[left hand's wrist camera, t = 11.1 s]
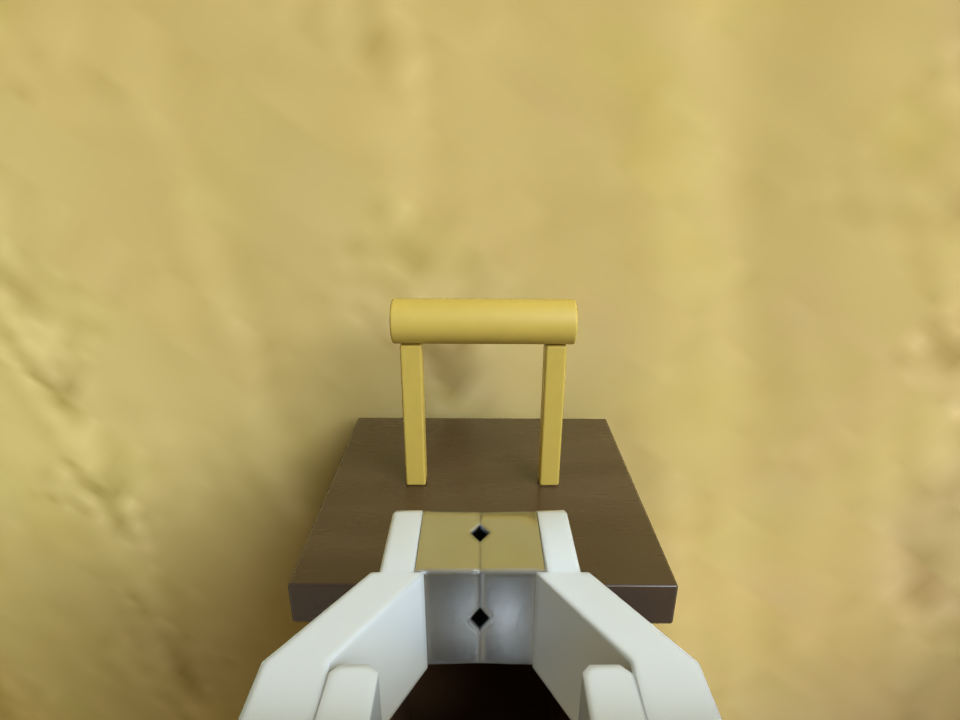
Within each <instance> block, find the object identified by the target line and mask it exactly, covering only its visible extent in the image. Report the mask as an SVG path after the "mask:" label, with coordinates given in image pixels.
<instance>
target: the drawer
mask: <svg viewBox="0 0 960 720" xmlns="http://www.w3.org/2000/svg"><path fill="white" fill-rule="evenodd" d="M577 327H578V313H577V305H576V302H575V300H573V299H402V298H394V299H393V300H392V302H391V307H390V334H391V339H392V342H393V343H401V346H400V359H401V380H402V402H403V418H359V419H358V421H357V423H356V426H355V428H354V430H353V433H352V435H351V437H350V440H349V442H348V444H347V447H346V449H345V452H344V454H343V456H342V459H341V461H340V463H339V466H338V468H337V470H336V473H335V475H334V477H333V480H332V482H331V485H330V487H329V489H328V492H327V494H326V496H325V499H324V501H323V503H322V506H321V508H320V510H319V513H318V515H317V517H316V520H315V522H314V525H313V527H312V529H311V532H310V534H309V536H308V539H307V541H306V543H305V546H304V548H303V550H302V553H301V555H300V557H299V560H298V562H297V565H296V567H295V569H294V572H293V574H292V576H291V579H290V581H289V583H288V589H289V596H290V603H291V610H292V617H293V621H295V622H311V621H312V620H314V619H315V618H316V617H317V616H318V615H320V614H321V613H322V612H323V611H325V610H326V609H327V608H328V607H329V606H331V605H332V604H333V603H334V602H335V601H337V600H338V599H339V598H340V597H342V596H343V595H344V594H345V593H346V592H348V591H349V590H350V589H351V588H352V587H354V586H355V585H356V584H357V583H359V582H360V581H361V580H362V579H363V578H365V577H366V576H367V575H368V574H369V573H371V572H379V571H380V567H381V563H382V558H383V554H384V550H385V545H386V541H387V537H388V532H389V528H390V524H391V519H392V515H393V514H394V512H395V511H396V510H422V511H423V512H424V511H425V510H426V511H473V512H536V511H549V510H564V511H565V512H566V513H567V516H568V520H569V524H570V528H571V533H572V537H573V541H574V546H575V550H576V554H577V559H578V563H579V567H580V571H581V572H589V573H591V574H592V575H593V576H594V577H595V578H597V579H598V580H599V581H600V582H601V583H603V584H604V585H605V586H606V587H607V588H609V589H610V590H611V591H612V592H614V593H615V594H616V595H617V596H618V597H620V598H621V599H622V600H623V601H624V602H626V603H627V604H628V605H629V606H630V607H632V608H633V609H634V610H635V611H637V612H638V613H639V614H640V615H641V616H643V617H644V618H645V619H646V620H647V621H649V622H650V623H672V621H673V615H674V609H675V602H676V596H677V589H678V585H677V583H676V581H675V578H674V576H673V574H672V571H671V569H670V567H669V564H668V562H667V560H666V558H665V555H664V553H663V551H662V548H661V546H660V544H659V541H658V539H657V537H656V534H655V532H654V530H653V528H652V525H651V523H650V521H649V518H648V516H647V514H646V511H645V509H644V507H643V504H642V502H641V500H640V498H639V495H638V493H637V491H636V488H635V486H634V484H633V481H632V479H631V477H630V474H629V472H628V470H627V467H626V465H625V463H624V461H623V458H622V456H621V454H620V451H619V449H618V447H617V444H616V442H615V440H614V437H613V435H612V433H611V431H610V428H609V426H608V424H607V421H606V420H605V419H563V404H564V387H565V371H566V354H567V347H566V345H565V344H574V343H575V341H576V336H577ZM423 344H544V353H543V375H542V397H541V419H465V418H425V395H424V363H423ZM532 666H533V665H532V664H497V663H462V664H428V668H427V669H426V671H425V672H424V673H423V675H422V676H421V677H420V679H419V680H418V682H417V683H416V684H415V686H414V687H413V688H412V690H411V691H410V693H409V694H408V695H407V697H406V698H405V699H404V701H403V702H402V704H401V705H400V706H399V708H398V709H397V710H396V712H395V713H394V714H393V716H392V717H391V719H390V720H570V718H569V717H568V715H567V714H566V713H565V711H564V710H563V709H562V707H561V706H560V704H559V703H558V702H557V700H556V699H555V697H554V696H553V695H552V693H551V692H550V691H549V689H548V688H547V686H546V685H545V684H544V682H543V681H542V680H541V678H540V677H539V675H538V674H537V673H536V671H535V670H534V668H533V667H532Z"/></svg>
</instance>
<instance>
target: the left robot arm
mask: <svg viewBox="0 0 960 720" xmlns="http://www.w3.org/2000/svg"><path fill="white" fill-rule="evenodd" d="M462 663H497V664H532V665H533V666H532V667H533V668H534V670H535V671H536V673H537V674H538V675H539V677H540V678H541V680H542V681H543V682H544V684H545V685H546V686H547V688H548V689H549V691H550V692H551V693H552V695H553V696H554V697H555V699H556V700H557V702H558V703H559V704H560V706H561V707H562V709H563V710H564V711H565V713H566V714H567V715H568V717H569V718H570V720H722V718H721V716H720V714H719V711H718V709H717V706H716V704H715V701H714V699H713V696H712V694H711V692H710V689H709V687H708V684H707V682H706V679H705V677H704V675H703V672H702V670H701V667H700V665H699V663H698V662H697V661H696V660H695V659H693V658H692V657H691V656H690V655H689V654H687V653H686V652H685V651H684V650H682V649H681V648H680V647H679V646H678V645H676V644H675V643H674V642H673V641H672V640H670V639H669V638H668V637H667V636H666V635H664V634H663V633H662V632H661V631H660V630H658V629H657V628H656V627H655V626H653V625H652V624H651V623H650V622H649V621H647V620H646V619H645V618H644V617H643V616H641V615H640V614H639V613H638V612H637V611H635V610H634V609H633V608H632V607H630V606H629V605H628V604H627V603H626V602H624V601H623V600H622V599H621V598H620V597H618V596H617V595H616V594H615V593H614V592H612V591H611V590H610V589H609V588H607V587H606V586H605V585H604V584H603V583H601V582H600V581H599V580H598V579H597V578H595V577H594V576H593V575H592V574H591V573H589V572H581V571H580V567H579V563H578V559H577V554H576V550H575V546H574V541H573V537H572V533H571V528H570V524H569V520H568V516H567V513H566V512H565V511H564V510H549V511H536V512H473V511H426V510H425V511H424V512H423V511H422V510H396V511H395V512H394V514H393V515H392V519H391V524H390V528H389V532H388V537H387V541H386V545H385V550H384V554H383V558H382V563H381V567H380V571H379V572H371V573H369V574H368V575H367V576H366V577H365V578H363V579H362V580H361V581H360V582H359V583H357V584H356V585H355V586H354V587H352V588H351V589H350V590H349V591H348V592H346V593H345V594H344V595H343V596H342V597H340V598H339V599H338V600H337V601H335V602H334V603H333V604H332V605H331V606H329V607H328V608H327V609H326V610H325V611H323V612H322V613H321V614H320V615H318V616H317V617H316V618H315V619H314V620H312V621H311V622H310V623H309V624H307V625H306V626H305V627H304V628H303V629H301V630H300V631H299V632H298V633H297V634H295V635H294V636H293V637H292V638H290V639H289V640H288V641H287V642H286V643H284V644H283V645H282V646H281V647H280V648H278V649H277V650H276V651H275V652H273V653H272V654H271V655H270V656H269V657H267V658H266V659H265V660H264V661H263V662H262V663H261V666H260V668H259V670H258V673H257V675H256V678H255V680H254V682H253V685H252V687H251V690H250V692H249V694H248V697H247V699H246V702H245V704H244V706H243V709H242V711H241V714H240V716H239V718H238V720H390V719H391V717H392V716H393V714H394V713H395V712H396V710H397V709H398V708H399V706H400V705H401V704H402V702H403V701H404V699H405V698H406V697H407V695H408V694H409V693H410V691H411V690H412V688H413V687H414V686H415V684H416V683H417V682H418V680H419V679H420V677H421V676H422V675H423V673H424V672H425V671H426V669H427V668H428V664H462Z"/></svg>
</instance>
